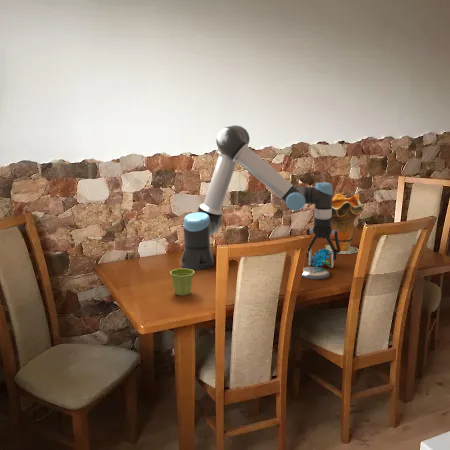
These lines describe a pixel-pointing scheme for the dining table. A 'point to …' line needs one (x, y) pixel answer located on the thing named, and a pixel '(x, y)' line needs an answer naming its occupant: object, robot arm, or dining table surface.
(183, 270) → the plant pot
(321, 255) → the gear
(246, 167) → the robot arm
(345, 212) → the decorative vase
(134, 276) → the dining table surface
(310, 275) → the plate
